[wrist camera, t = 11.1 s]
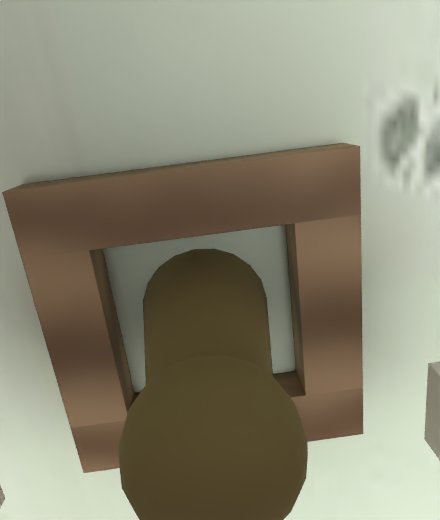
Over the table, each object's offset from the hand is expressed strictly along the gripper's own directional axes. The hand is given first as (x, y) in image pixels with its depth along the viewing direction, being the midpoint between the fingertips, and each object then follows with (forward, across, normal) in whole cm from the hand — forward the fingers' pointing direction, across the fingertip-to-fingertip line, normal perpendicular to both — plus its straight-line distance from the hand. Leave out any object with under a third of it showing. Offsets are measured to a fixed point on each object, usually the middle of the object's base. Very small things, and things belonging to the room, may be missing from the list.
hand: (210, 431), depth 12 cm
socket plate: (+9, 0, 0) cm, 9 cm away
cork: (+9, 0, 0) cm, 9 cm away
